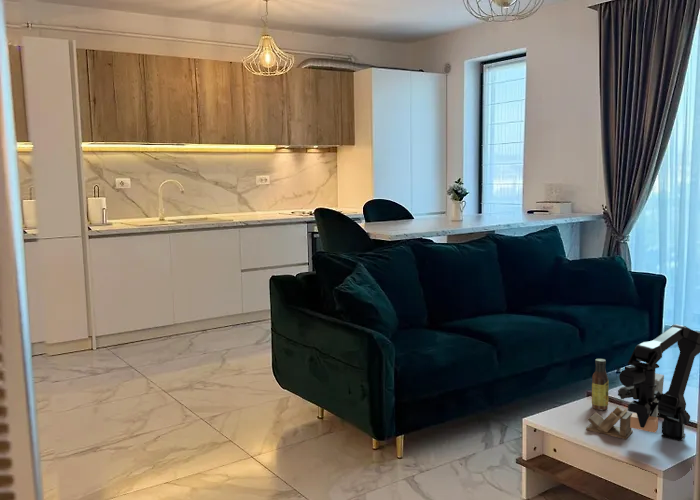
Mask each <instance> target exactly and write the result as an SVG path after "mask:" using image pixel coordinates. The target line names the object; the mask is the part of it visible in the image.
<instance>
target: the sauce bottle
mask: <svg viewBox="0 0 700 500" xmlns="http://www.w3.org/2000/svg"><path fill="white" fill-rule="evenodd" d="M594 361H595V362H594V363H595V368H594V372H593V374H592V380H591V381H592V382H591V407H592V408H593V409H594V410H598V411H606V410H608V407H609V392H610V391H609V390H610V389H609V385H610V384H609V377H608V374H607V371H606V364H607V361H606V359H605V358H596V359H595V360H594Z"/></svg>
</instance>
